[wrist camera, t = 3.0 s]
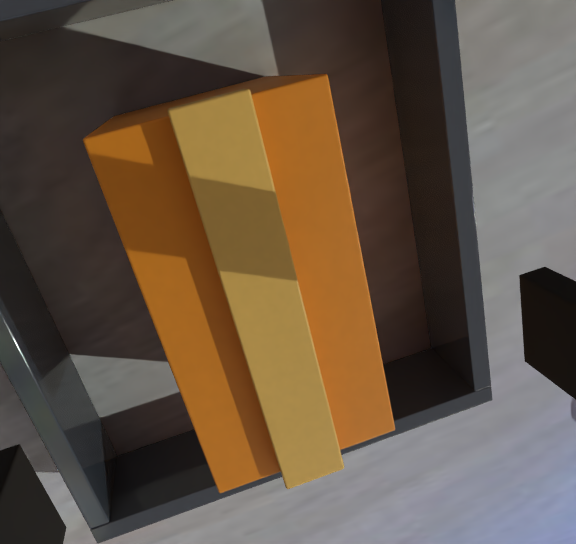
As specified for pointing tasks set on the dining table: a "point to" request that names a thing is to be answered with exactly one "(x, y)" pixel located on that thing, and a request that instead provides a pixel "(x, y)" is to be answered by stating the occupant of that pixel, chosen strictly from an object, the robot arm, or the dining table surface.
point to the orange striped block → (251, 272)
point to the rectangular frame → (399, 374)
